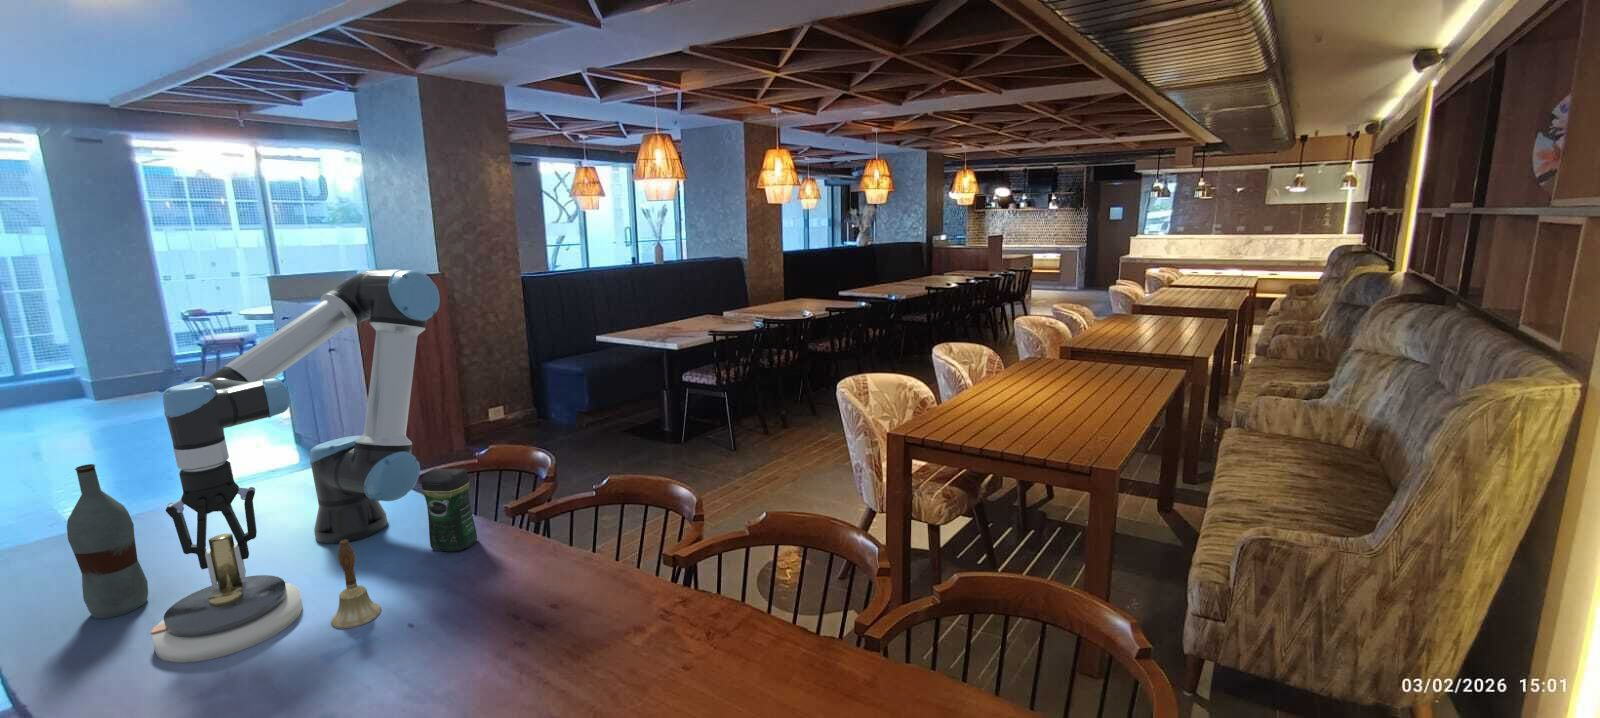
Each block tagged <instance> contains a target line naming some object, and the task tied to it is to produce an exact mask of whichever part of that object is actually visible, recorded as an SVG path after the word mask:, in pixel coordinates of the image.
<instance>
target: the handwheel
mask: <svg viewBox="0 0 1600 718" xmlns="http://www.w3.org/2000/svg"><path fill="white" fill-rule="evenodd" d="M234 540H235V539H234V535H233V533H222V534H217V535H215V536H212V537H211V538H209V539H208V545H209V548H210V550H211V554H212V559H213V563H214V568H215V572H216V577H217V584H215V585H212V584H211V585H210V586H209V585H208V586H207V587H204V588H202V589H200V590H197V591H195V592H192V593H191V594H189V595H187V596H185V597H183V598H181V599H180V600H178V601H176V602H175V603H174V604H173V605H171V607H169V608H168V609H167V610H166V612H165V613H164V615H163V619H164V623H165V627H166V631H167V632H168V633H169V634H170V635H173V636H177V637H200V636H207V635H212V634H216V633H220V632H224V631H228V630H231V629H234V628H237V627H240V626H243V625H245V624H248V623H250V622H252V621H255V620H257V619H259V618H261V617H263V616H264V615H266V614H268V613H270V612H271V611H273V610H274V609H275V608H277V607H278V606H279V605H280V604H281V603H282V602H283V601H284V600H285V598H286V596H287V591H286V585H285V583H286V581H285V580H284V579H283V578H281V577H279V576H276V575H267V574H262V575H261V574H257V575H249V576H245V577H243V578H240V575H239V570H238V565H237V561H236V556H235V551H234V543H235V541H234Z"/></svg>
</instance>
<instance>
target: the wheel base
mask: <svg viewBox="0 0 1600 718" xmlns="http://www.w3.org/2000/svg"><path fill="white" fill-rule="evenodd" d="M285 585H286V591H287V596H286V598H285V600H284V601H283V602H282V603H281V604H280V605H279V606H278V607H277V608H275V609H274V610H273V611H271V612H270V613H268V614H266V615H264V616H263V617H261V618H259V619H257V620H255V621H252V622H250V623H248V624H245V625H243V626H240V627H237V628H234V629H231V630H228V631H224V632H220V633H216V634H212V635H207V636H200V637H177V636H173V635H170V634H169V633H168V632H167V631H166V627H165V623H164V618H163V619H162V620H160V622H159V623H157V624H156V625H154V626H153V628H152V629H151V632H150V634H151V638H152V643H153V648H154V651H155V655H156V656H157V657H158V658H159V659H160V660H163V661H166V662H169V663H182V664H183V663H195V662H196V663H197V662H202V661H207V660H208V661H209V660H213V659H216V658H220V657H225V656H228V655H232V654H236V653H238V652H241V651H243V650H246V649H248V648H251V647H254V646H257V645H258V644H260V643H263V642H265V641H267V640H268V639H271V638H273V637H275V636H276V635H277V634H279V633H281V632H282V631H284V630H285V629H287V628H288V627H289V626H290V625H292V624H293V623H294V622H295V621H296V620H297V619H298V618H299V616H300V615H301V613H302V611H303V601H302V598H301V592H300V591H301V590H299V588H298V586H296V585H294V584H292V583H289V582H285Z"/></svg>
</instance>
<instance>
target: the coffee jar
mask: <svg viewBox="0 0 1600 718" xmlns="http://www.w3.org/2000/svg"><path fill="white" fill-rule="evenodd" d="M467 471H468V470H466V469H464V468H460V469H456V468H453V469H452V468H433V469H431V470H428V471H426V472H425V473H423V474H422V477H421V491H422V494H423V496H424V498H425V499H424V500H425V503H426V508H427V517H428V534H429V535H428V537H429V544H430V545H429V546H430V548H431V549H432V550H433V551H440V552H458V551H461V550H464V549H467V548H470V547H471V546H473V544H475V543H476V542H477V539H478V534H477V533H478V532H477V528H476V525H475V519H474V516H473V512H472V507H471V503H470V496H469V491H470V485H471V483H470V482H471V481H470V478H469V475H468V472H467Z"/></svg>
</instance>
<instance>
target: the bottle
mask: <svg viewBox="0 0 1600 718" xmlns="http://www.w3.org/2000/svg"><path fill="white" fill-rule="evenodd" d="M74 470H75V471H76V475H77V480H78V484H79V488H80V493H81V495H80V497H79V498H78V500H77V502H76V504H75V506H74V507H73V509H72V511H71V513H70V514H69V516H68V518H67V522H66V531H67V541H68V543H69V545H70V547H71V550H72V552H73V555H74V557H75V561H76V562H77V566H78V567H79V570H80V573H81V586H82V587H81V588H82V597H83V602H84V604H85V606H86V608H87V610H88V612H89V613H90V615H91V616H92V617H93V618H95V619H99V620H100V619H101V618H102V619H110V617H111V618H114V617H113V616H115V617H118V615H119V616H122V615H124V614H128V613H130V612H129V611H131V612H133V611H135V610H137V609H139V608H141V607H143V605H145V604H146V603H147V601H148V599H149V598H148V596H149V587H148V586H149V584H148V579H147V577H146V575H145V573H144V570H143V568H142V566H141V564H140V561H139V559H138V553H137V545H136V544H137V543H136V538H135V527H134V522H133V519H132V518H131V516H130V512H129V511H128V510H127V508H126V507H125V505H124V504H122V503H121V502H119V501H118V500H116V499H115V498H113V497H112V496H110V494H108V493H107V492H104V490H102V488H101V485H100V482H99V478H98V474H97V471H96V464H94V463H90V464H89V463H88V464H83V465H80V466H77V467H75V469H74ZM145 602H146V603H145ZM144 603H145V604H144ZM140 606H141V607H140ZM138 607H139V608H138ZM132 610H133V611H132ZM127 612H128V613H127ZM121 614H122V615H121Z"/></svg>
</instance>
